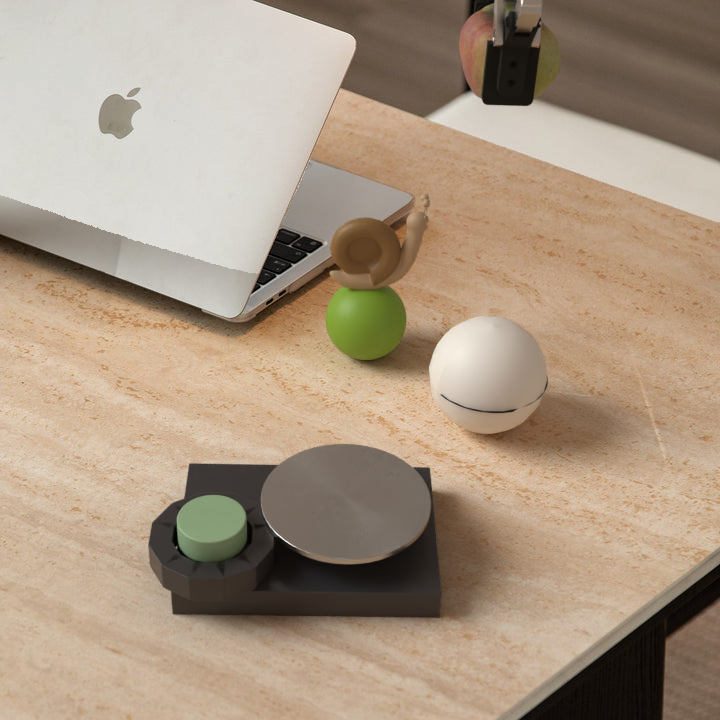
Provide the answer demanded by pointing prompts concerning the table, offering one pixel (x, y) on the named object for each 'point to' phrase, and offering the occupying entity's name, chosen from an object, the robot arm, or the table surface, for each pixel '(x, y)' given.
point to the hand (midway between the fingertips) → (500, 78)
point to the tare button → (212, 528)
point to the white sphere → (488, 374)
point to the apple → (482, 30)
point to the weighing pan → (345, 504)
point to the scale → (287, 564)
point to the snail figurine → (371, 284)
